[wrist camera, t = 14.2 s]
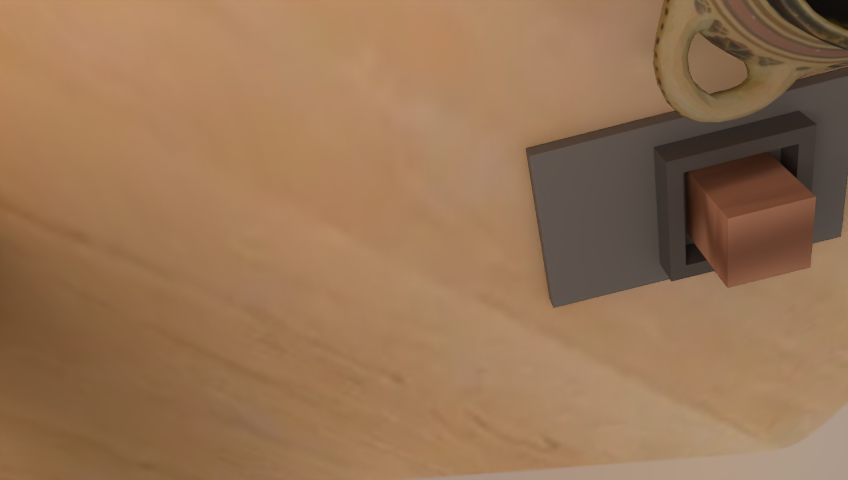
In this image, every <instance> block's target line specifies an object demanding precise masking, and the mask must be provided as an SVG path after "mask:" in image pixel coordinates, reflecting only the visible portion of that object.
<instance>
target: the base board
mask: <svg viewBox="0 0 848 480" xmlns="http://www.w3.org/2000/svg"><path fill="white" fill-rule="evenodd" d="M764 152H769V153H770V154H771V155H772V156H773V157H774V158H775V159H776V160H777V161H778V162H779V163H780V164H782V165H783V166H784V167H785V168H786V169H787V170H788V171H789V172H790V173H791V174H792V175H793V176H794V177H796V178H797V179H798V180H799V181H800V182H801V183H802V184H803V185H804V186H805V187H806V188H807V189H808V190H809V191H811V192H812V193H813V194H814V195H815V196H816V204H815V216H814V228H813V240H812V243H816V242H820V241H824V240H829V239H833V238H837V237H841V231H842V222H843V212H844V203H845V194H846V184H847V175H848V67H847V68H843V69H839V70H835V71H831V72H827V73H823V74H819V75H815V76H811V77H807V78H803V79H799V80H796V81H795V82H794V83H793V84H792V85H791V86H790V87H789V88H788V89H787V90H786V91H785V92H784V93H783V94H782V95H781V96H780V97H779V98H777V99H776V100H774V101H773V102H771V103H770V104H769V105H767V106H766V107H764V108H763V109H761V110H759V111H757V112H755V113H753V114H750V115H747V116H744V117H741V118H738V119H733V120H728V121H723V122H699V121H695V120H691V119H688V118H686V117H684V116H682V115H680V114H678V113H677V112H676V111H673V112H669V113H665V114H661V115H657V116H653V117H649V118H645V119H641V120H637V121H633V122H629V123H625V124H621V125H617V126H613V127H609V128H605V129H601V130H597V131H593V132H589V133H585V134H581V135H577V136H573V137H570V138H566V139H562V140H558V141H554V142H550V143H546V144H542V145H538V146H534V147H530V148H526V153H527V160H528V166H529V172H530V178H531V185H532V191H533V197H534V203H535V209H536V216H537V222H538V228H539V234H540V241H541V247H542V253H543V259H544V266H545V272H546V278H547V284H548V291H549V297H550V300H551V303H552V305H553V308H555V307H559V306H563V305H567V304H571V303H575V302H579V301H583V300H587V299H591V298H595V297H599V296H603V295H607V294H611V293H615V292H619V291H623V290H627V289H631V288H635V287H639V286H643V285H647V284H651V283H655V282H659V281H663V280H667V279H670V280H671V281H675V280H679V279H683V278H687V277H691V276H695V275H699V274H703V273H707V272H711V271H715V270H714V269H713V268H712V266H711V265H710V264H709V262H708V261H707V259H706V258H705V257H704V255H703V254H702V253H701V251H700V250H699V249H698V247H697V246H696V245H695V243H694V242H693V241H692V239H691V238H690V237H689V235H688V234H687V219H686V185H685V172H688V171H692V170H696V169H700V168H704V167H708V166H712V165H716V164H720V163H724V162H728V161H732V160H736V159H740V158H744V157H748V156H752V155H756V154H760V153H764Z"/></svg>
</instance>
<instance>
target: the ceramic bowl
mask: <svg viewBox="0 0 848 480" xmlns="http://www.w3.org/2000/svg"><path fill="white" fill-rule="evenodd" d="M698 32H699V33H700V34H701V35H702V36H704V37H705V38H706V39H707V40H709V41H710V42H711V43H712V44H714V45H716V46H717V47H719V48H721V49H722V50H724V51H726V52H727V53H729V54H731V55H733V56H735V57H737V58H738V59H740V60H742V61H743V62H744V63H745V65H746V67H747V73H748V77H747V78H746V79H745V80H744V81H743V82H742V83H741V84H740V85H738V86H736V87H733V88H731V89H728V90H724V91H719V92H715V93H712V94H708V93H707V92H706V91H704V90H702V89H701V88H700V87H699V86H698V85H697V84H696V83H695V82H694V81H693V79H692V77H691V75H690V73H689V66H688V58H687V55H688V51H689V48H690V44H691V41H692V39H693V37H694V36H695V34H696V33H698ZM653 65H654V70H655V75H656V80H657V84H658V86H659V88H660V90H661V92H662V94H663V96H664V97H665V99H666V101H667V102H668V103H669V104H670V106H671V107H672V108H673V109H674V110H675V111H676V112H677V113H678V114H680V115H682V116H684V117H686V118H688V119H691V120H695V121H699V122H723V121H728V120H733V119H738V118H741V117H744V116H747V115H750V114H753V113H755V112H757V111H759V110H761V109H763V108H764V107H766V106H767V105H769V104H770V103H771V102H773V101H774V100H776V99H777V98H779V97H780V96H781V95H782V94H783V93H784V92H785V91H786V90H787V89H788V88H789V87H790V86H791V85H792V84H793V83H794V82H795V81H796V80H797V79H798V78H800V77H801V76H803V75H804V74H806V73H808V72H812V71H816V70H826V69H834V68H838V67H842V66H847V65H848V0H664V3H663V8H662V12H661V16H660V20H659V24H658V29H657V33H656V39H655V46H654V61H653Z"/></svg>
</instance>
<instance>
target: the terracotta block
mask: <svg viewBox="0 0 848 480" xmlns="http://www.w3.org/2000/svg"><path fill="white" fill-rule="evenodd" d="M685 185H686V219H687V234H688V235H689V237H690V238H691V239H692V241H693V242H694V243H695V245H696V246H697V247H698V249H699V250H700V251H701V253H702V254H703V255H704V257H705V258H706V259H707V261H708V262H709V264H710V265H711V266H712V268H713V269H714V270H715V272H716V273H717V274H718V276H719V277H720V278H721V280H722V281H723V282H724V284H725V285H726V286H727V288H729V287H733V286H737V285H741V284H745V283H749V282H753V281H757V280H761V279H765V278H769V277H773V276H777V275H781V274H785V273H789V272H793V271H797V270H801V269H805V268H809V267H810V265H811V252H812V240H813V228H814V216H815V204H816V196H815V195H814V194H813V193H812V192H811V191H809V190H808V189H807V188H806V187H805V186H804V185H803V184H802V183H801V182H800V181H799V180H798V179H797V178H796V177H794V176H793V175H792V174H791V173H790V172H789V171H788V170H787V169H786V168H785V167H784V166H783V165H782V164H780V163H779V162H778V161H777V160H776V159H775V158H774V157H773V156H772V155H771V154H770V153H769V152H764V153H760V154H756V155H752V156H748V157H744V158H740V159H736V160H732V161H728V162H724V163H720V164H716V165H712V166H708V167H704V168H700V169H696V170H692V171H688V172H685Z"/></svg>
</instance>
